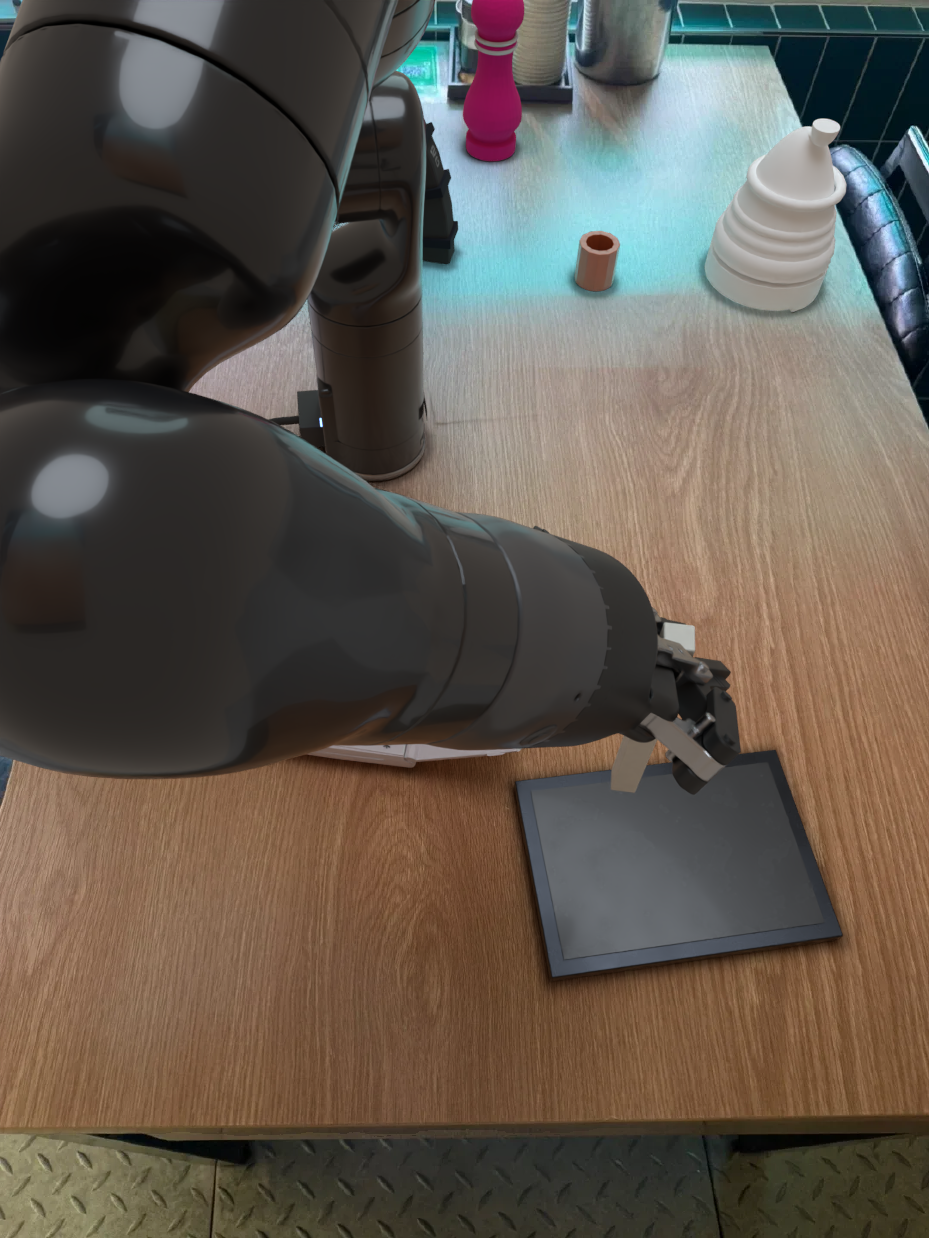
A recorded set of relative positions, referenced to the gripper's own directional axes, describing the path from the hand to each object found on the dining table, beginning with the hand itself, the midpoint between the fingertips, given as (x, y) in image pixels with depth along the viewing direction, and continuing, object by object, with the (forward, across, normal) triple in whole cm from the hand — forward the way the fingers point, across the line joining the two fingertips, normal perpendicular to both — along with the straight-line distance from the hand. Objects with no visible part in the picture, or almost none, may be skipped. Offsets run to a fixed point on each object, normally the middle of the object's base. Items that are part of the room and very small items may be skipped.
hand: (693, 662), depth 46 cm
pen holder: (+46, +52, -9) cm, 70 cm away
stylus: (+6, 0, +9) cm, 11 cm away
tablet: (+21, -2, +16) cm, 26 cm away
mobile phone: (+11, +18, +26) cm, 33 cm away
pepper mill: (+50, +81, -13) cm, 96 cm away
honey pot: (+58, +44, -21) cm, 75 cm away
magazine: (+35, +69, +2) cm, 77 cm away
